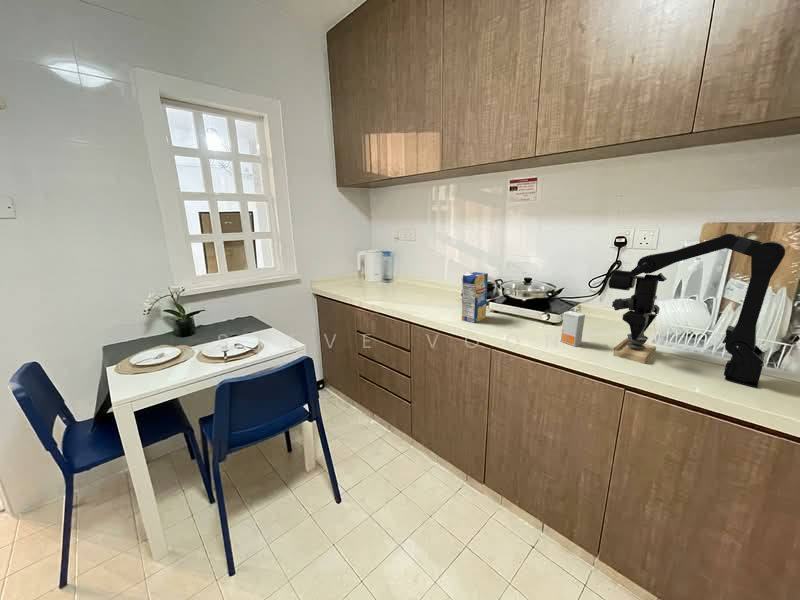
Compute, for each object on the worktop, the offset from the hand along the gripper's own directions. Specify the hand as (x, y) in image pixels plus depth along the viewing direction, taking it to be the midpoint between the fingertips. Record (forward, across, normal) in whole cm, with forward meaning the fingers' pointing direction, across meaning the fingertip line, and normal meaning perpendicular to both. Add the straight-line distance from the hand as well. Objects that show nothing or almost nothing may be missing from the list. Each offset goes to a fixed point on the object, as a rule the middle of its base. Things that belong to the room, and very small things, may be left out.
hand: (637, 336), depth 109 cm
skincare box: (+7, +6, -19) cm, 21 cm away
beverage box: (+6, +8, -63) cm, 64 cm away
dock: (+6, 0, 0) cm, 6 cm away
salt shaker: (+4, 0, 0) cm, 4 cm away
